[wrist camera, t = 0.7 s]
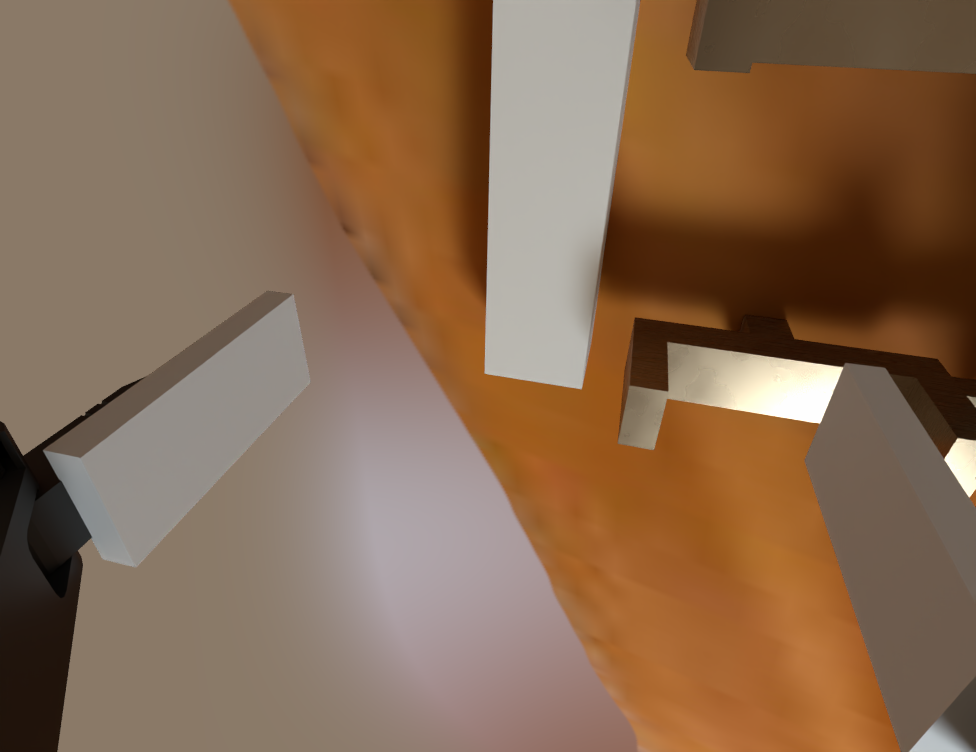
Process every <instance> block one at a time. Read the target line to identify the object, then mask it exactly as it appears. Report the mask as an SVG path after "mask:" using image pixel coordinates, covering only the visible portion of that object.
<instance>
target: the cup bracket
mask: <svg viewBox="0 0 976 752" xmlns="http://www.w3.org/2000/svg"><path fill="white" fill-rule="evenodd" d="M686 56H687V58H688V60H689V61H690V63H691V65H692V67H693V69H694V70H705V71H723V72H742V73H750V69H751V65H752V62H754V63H773V64H793V65H813V66H833V67H853V68H872V69H892V70H912V71H932V72H952V73H971V74H976V0H697V2H696V7H695V12H694V17H693V22H692V27H691V32H690V37H689V43H688V48H687V53H686ZM845 363H851V364H859V365H867V366H875V367H883V368H886V370H887V371H888V373H889V375H890V376H891V378H892V379H893V381H894V382H895V384H896V385H897V387H898V389H899V390H900V392H901V393H902V395H903V396H904V398H905V399H906V401H907V402H908V404H909V406H910V407H911V409H912V410H913V412H914V413H915V415H916V416H917V418H918V419H919V421H920V423H921V424H922V426H923V427H924V429H925V430H926V432H927V433H928V435H929V437H930V438H931V440H932V441H933V443H934V444H935V446H936V447H937V449H938V450H939V452H940V454H941V455H942V457H943V458H944V460H945V461H946V463H947V464H948V466H949V467H950V469H951V471H952V472H953V474H954V475H955V477H956V478H957V480H958V481H959V483H960V484H961V486H962V488H963V489H964V491H965V492H966V494H967V495H968V497H970V496H971V494H972V493H973V492H974V490H975V489H976V380H972V379H965V378H958V377H951V375H950V374H949V373H948V372H947V370H946V369H945V368H944V367H943V365H942V364H941V363H940V362H939V360H938V359H934V358H927V357H920V356H912V355H905V354H898V353H890V352H883V351H876V350H869V349H861V348H854V347H847V346H840V345H832V344H825V343H818V342H810V341H803V340H796V339H794V337H793V335H792V332H791V330H790V327H789V325H788V322H787V320H781V319H773V318H765V317H758V316H750V315H745V316H744V319H743V322H742V325H741V329H740V332H738V331H730V330H723V329H716V328H708V327H701V326H694V325H687V324H679V323H672V322H665V321H658V320H650V319H643V318H636V317H635V320H634V325H633V330H632V335H631V340H630V345H629V350H628V355H627V361H626V366H625V372H624V383H623V393H622V404H621V414H620V425H619V435H618V444H623V445H629V446H634V447H640V448H645V449H651V450H654V448H655V444H656V440H657V436H658V432H659V428H660V424H661V420H662V416H663V412H664V408H665V404H666V400H667V399H673V400H680V401H686V402H692V403H698V404H704V405H710V406H716V407H723V408H729V409H735V410H741V411H747V412H753V413H760V414H766V415H772V416H778V417H784V418H790V419H796V420H803V421H809V422H815V423H820V422H821V420H822V417H823V415H824V413H825V410H826V408H827V406H828V403H829V401H830V398H831V396H832V394H833V391H834V389H835V386H836V384H837V382H838V379H839V377H840V374H841V372H842V370H843V367H844V365H845Z"/></svg>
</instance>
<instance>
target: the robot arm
mask: <svg viewBox="0 0 976 752" xmlns="http://www.w3.org/2000/svg"><path fill="white" fill-rule="evenodd" d="M309 383H310V377H309V372H308V367H307V361H306V356H305V351H304V346H303V341H302V336H301V330H300V325H299V320H298V315H297V310H296V305H295V300H294V294H289V293H281V292H273V291H266V292H265V293H264V294H262V295H261V296H259V297H258V298H256V299H255V300H254V301H252V302H251V303H249V304H248V305H247V306H245V307H244V308H242V309H241V310H239V311H238V312H237V313H235V314H234V315H233V316H231V317H230V318H228V319H227V320H225V321H224V322H223V323H221V324H220V325H218V326H217V327H216V328H214V329H213V330H211V331H210V332H209V333H207V334H206V335H204V336H203V337H201V338H200V339H199V340H197V341H196V342H194V343H193V344H192V345H190V346H189V347H187V348H186V349H185V350H183V351H182V352H180V353H179V354H178V355H176V356H175V357H173V358H172V359H171V360H169V361H168V362H166V363H165V364H163V365H162V366H161V367H159V368H158V369H156V370H155V371H154V372H152V373H151V374H149V375H148V376H146V377H144V378H142V379H139V380H137V381H135V382H133V383H130V384H128V385H126V386H123V387H121V388H120V389H119V390H117V391H116V392H114V393H113V394H112V395H110V396H108V397H107V398H106V399H104V400H103V401H102V404H97V405H96V406H94V407H93V408H91V409H90V410H88V411H87V412H86V414H85V416H82V415H81V416H80V417H78V418H77V419H75V420H74V421H73V422H71V423H70V424H68V425H67V426H65V427H64V428H63V429H61V430H60V431H58V432H57V433H55V434H54V435H53V436H51V437H50V438H48V439H47V440H45V441H44V442H42V443H41V444H40V445H38V446H37V447H35V448H34V449H32V450H31V451H30V452H28V453H27V454H25V455H24V456H23V455H22V454H21V452H20V450H19V448H18V447H17V445H16V443H15V441H14V440H13V438H12V436H11V434H10V433H9V431H8V429H7V428H6V426H5V424H4V423H2V422H1V421H0V752H57V750H58V743H59V734H60V728H61V720H62V713H63V706H64V698H65V692H66V684H67V677H68V669H69V662H70V655H71V648H72V641H73V634H74V626H75V619H76V612H77V605H78V597H79V590H80V582H81V575H82V568H83V563H82V558H81V556H80V554H79V552H78V550H79V549H80V548H81V547H82V546H83V545H84V544H85V543H86V542H87V541H88V540H89V539H92V541H93V542H94V544H95V546H96V548H97V550H98V552H99V553H100V555H101V557H102V559H104V560H108V561H112V562H116V563H120V564H124V565H128V566H133V567H137V566H138V565H139V564H140V563H141V562H142V561H143V560H144V559H145V557H146V556H147V555H148V554H149V553H150V552H151V551H152V550H153V549H154V548H155V547H156V546H157V545H158V544H159V542H161V540H162V539H163V538H164V537H165V536H166V535H167V534H168V533H169V532H170V531H171V530H172V529H173V528H174V527H175V525H177V523H178V522H179V521H180V520H181V519H182V518H183V517H184V516H185V515H186V514H187V513H188V512H189V511H190V510H191V508H192V507H193V506H194V505H195V504H196V503H197V502H198V501H199V500H200V499H201V498H202V497H203V496H204V495H205V494H206V493H207V492H208V491H209V489H210V488H211V487H212V486H213V485H214V484H215V483H216V482H217V481H218V480H219V479H220V478H221V477H222V476H223V474H225V472H226V471H227V470H228V469H229V468H230V467H231V466H232V465H233V464H234V463H235V462H236V461H237V460H238V459H239V458H240V456H241V455H242V454H243V453H244V452H245V451H246V450H247V449H248V448H249V447H250V446H251V445H252V444H253V443H254V442H255V440H257V438H258V437H259V436H260V435H261V434H262V433H263V432H264V431H265V430H266V429H267V428H268V427H269V426H270V425H271V424H272V423H273V421H274V420H275V419H276V418H277V417H278V416H279V415H280V414H281V413H282V412H283V411H284V410H285V409H286V408H287V407H288V405H289V404H290V403H291V402H292V401H293V400H294V399H295V398H296V397H297V396H298V395H299V394H300V393H301V392H302V391H303V390H304V389H305V387H306V386H307V385H308V384H309ZM805 463H806V466H807V469H808V472H809V475H810V478H811V481H812V484H813V487H814V490H815V493H816V497H817V500H818V503H819V506H820V509H821V512H822V515H823V518H824V521H825V524H826V527H827V530H828V533H829V536H830V539H831V542H832V545H833V548H834V551H835V554H836V557H837V560H838V563H839V566H840V569H841V572H842V575H843V578H844V581H845V584H846V587H847V590H848V593H849V596H850V599H851V602H852V605H853V608H854V611H855V614H856V617H857V620H858V623H859V626H860V629H861V632H862V635H863V638H864V641H865V644H866V647H867V650H868V653H869V656H870V659H871V662H872V666H873V669H874V672H875V675H876V678H877V681H878V684H879V687H880V690H881V693H882V696H883V699H884V702H885V705H886V708H887V711H888V714H889V717H890V720H891V723H892V726H893V729H894V732H895V735H896V738H897V741H898V744H899V747H900V750H901V752H976V508H975V506H974V505H973V503H972V502H971V500H970V498H969V497H968V495H967V494H966V492H965V491H964V489H963V488H962V486H961V484H960V483H959V481H958V480H957V478H956V477H955V475H954V474H953V472H952V471H951V469H950V467H949V466H948V464H947V463H946V461H945V460H944V458H943V457H942V455H941V454H940V452H939V450H938V449H937V447H936V446H935V444H934V443H933V441H932V440H931V438H930V437H929V435H928V433H927V432H926V430H925V429H924V427H923V426H922V424H921V423H920V421H919V419H918V418H917V416H916V415H915V413H914V412H913V410H912V409H911V407H910V406H909V404H908V402H907V401H906V399H905V398H904V396H903V395H902V393H901V392H900V390H899V389H898V387H897V385H896V384H895V382H894V381H893V379H892V378H891V376H890V375H889V373H888V371H887V370H886V368H883V367H875V366H867V365H859V364H851V363H845V365H844V367H843V370H842V372H841V374H840V377H839V379H838V382H837V384H836V386H835V389H834V391H833V394H832V396H831V398H830V401H829V403H828V406H827V408H826V410H825V413H824V415H823V417H822V420H821V422H820V425H819V427H818V429H817V432H816V434H815V437H814V439H813V441H812V444H811V446H810V449H809V451H808V453H807V456H806V458H805Z"/></svg>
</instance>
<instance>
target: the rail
mask: <svg viewBox="0 0 976 752" xmlns="http://www.w3.org/2000/svg"><path fill="white" fill-rule="evenodd" d="M639 6H640V0H493V30H492V74H491V118H490V162H489V206H488V251H487V295H486V339H485V374H490V375H496V376H503V377H509V378H515V379H521V380H528V381H534V382H540V383H546V384H553V385H559V386H565V387H572V388H578V389H582V385H583V380H584V375H585V370H586V365H587V361H588V356H589V351H590V346H591V340H592V333H593V326H594V319H595V312H596V305H597V298H598V291H599V284H600V277H601V270H602V263H603V256H604V249H605V243H606V236H607V229H608V222H609V215H610V208H611V201H612V194H613V187H614V180H615V173H616V166H617V159H618V152H619V145H620V138H621V131H622V124H623V117H624V110H625V103H626V96H627V89H628V82H629V75H630V69H631V62H632V55H633V48H634V41H635V34H636V27H637V20H638V13H639Z"/></svg>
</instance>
